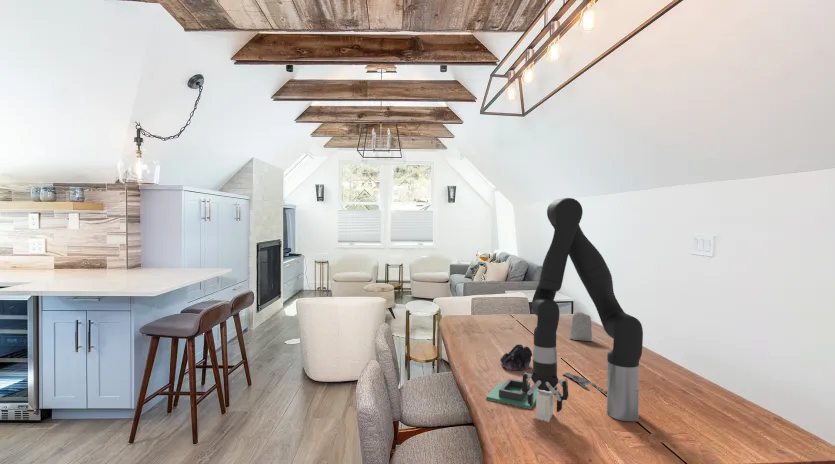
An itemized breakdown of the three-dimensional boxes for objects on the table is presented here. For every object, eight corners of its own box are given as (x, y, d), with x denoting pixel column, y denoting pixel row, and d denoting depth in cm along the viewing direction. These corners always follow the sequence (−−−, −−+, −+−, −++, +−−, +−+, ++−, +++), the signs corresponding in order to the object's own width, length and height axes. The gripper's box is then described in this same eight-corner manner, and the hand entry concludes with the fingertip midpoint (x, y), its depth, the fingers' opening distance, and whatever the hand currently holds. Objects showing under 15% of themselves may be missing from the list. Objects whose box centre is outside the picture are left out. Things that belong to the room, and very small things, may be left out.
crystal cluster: (495, 369, 177) (496, 348, 176) (504, 357, 189) (505, 337, 188) (526, 377, 171) (528, 354, 170) (533, 364, 183) (534, 343, 182)
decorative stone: (592, 340, 219) (592, 312, 219) (590, 342, 214) (590, 314, 214) (571, 337, 225) (571, 309, 224) (568, 339, 220) (569, 311, 219)
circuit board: (542, 392, 152) (542, 382, 152) (531, 409, 138) (531, 399, 138) (500, 383, 160) (500, 375, 160) (486, 399, 146) (486, 389, 146)
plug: (552, 414, 135) (553, 390, 134) (548, 423, 128) (548, 398, 128) (540, 411, 137) (540, 387, 136) (535, 420, 130) (535, 395, 130)
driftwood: (560, 375, 170) (560, 370, 170) (575, 374, 172) (575, 369, 172) (592, 397, 149) (592, 391, 149) (609, 395, 151) (609, 389, 151)
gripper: (569, 358, 132) (569, 408, 133) (525, 352, 139) (525, 399, 140) (565, 366, 126) (565, 418, 126) (519, 358, 133) (519, 408, 133)
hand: (544, 408), depth 133 cm, fingers open, 8 cm apart
